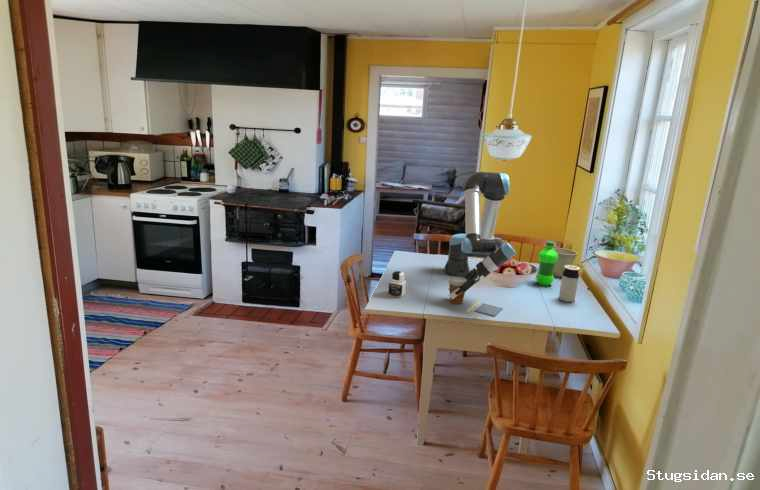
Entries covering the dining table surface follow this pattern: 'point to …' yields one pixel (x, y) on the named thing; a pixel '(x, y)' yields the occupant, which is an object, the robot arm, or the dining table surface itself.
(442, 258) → the dining table surface
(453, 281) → the disposable coffee cup
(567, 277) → the travel mug
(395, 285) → the medicine bottle
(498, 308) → the mat
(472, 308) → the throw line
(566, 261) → the plant pot
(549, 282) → the plastic bottle
